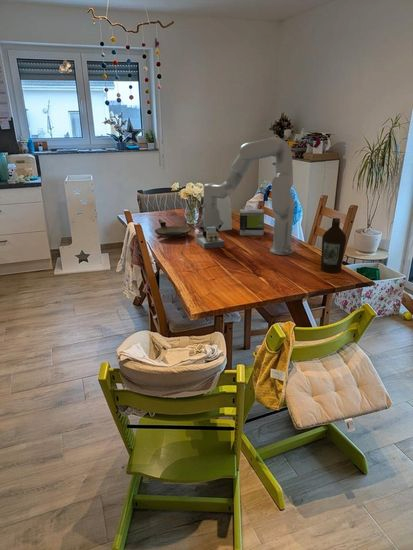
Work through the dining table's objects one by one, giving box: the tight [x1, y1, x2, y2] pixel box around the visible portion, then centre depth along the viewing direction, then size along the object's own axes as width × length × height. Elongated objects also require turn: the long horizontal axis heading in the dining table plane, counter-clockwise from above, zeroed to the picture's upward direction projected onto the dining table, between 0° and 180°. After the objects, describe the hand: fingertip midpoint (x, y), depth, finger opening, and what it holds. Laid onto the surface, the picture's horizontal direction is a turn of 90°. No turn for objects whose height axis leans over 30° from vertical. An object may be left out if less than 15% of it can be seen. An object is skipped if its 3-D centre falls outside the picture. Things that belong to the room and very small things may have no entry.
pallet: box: [205, 232, 220, 241], centre depth 226 cm, size 10×6×4 cm, turn 19°
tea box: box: [239, 208, 265, 236], centre depth 246 cm, size 15×10×15 cm, turn 84°
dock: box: [196, 232, 225, 249], centre depth 228 cm, size 14×12×5 cm
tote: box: [206, 227, 216, 233], centre depth 225 cm, size 6×4×2 cm
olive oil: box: [320, 217, 347, 274], centre depth 184 cm, size 11×11×25 cm
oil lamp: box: [154, 218, 192, 239], centre depth 245 cm, size 22×30×8 cm
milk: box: [213, 195, 233, 232], centre depth 257 cm, size 12×12×26 cm
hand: (210, 236), depth 226 cm, fingers closed on pallet, 6 cm apart
